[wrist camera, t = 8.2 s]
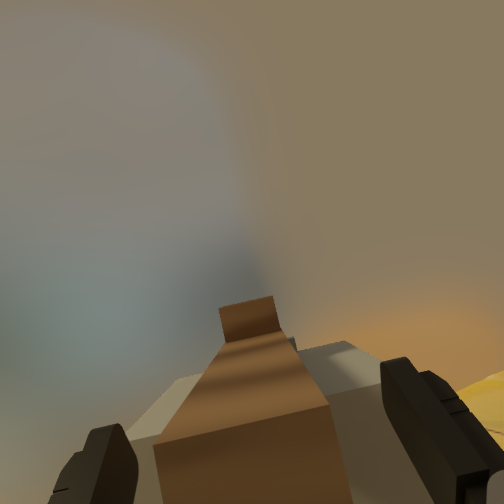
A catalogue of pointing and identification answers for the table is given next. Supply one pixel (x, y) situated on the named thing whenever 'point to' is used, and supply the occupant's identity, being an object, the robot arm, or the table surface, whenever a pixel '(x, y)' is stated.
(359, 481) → the pedestal
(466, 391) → the table surface
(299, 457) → the brown wooden bar
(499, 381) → the table surface
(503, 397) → the table surface
